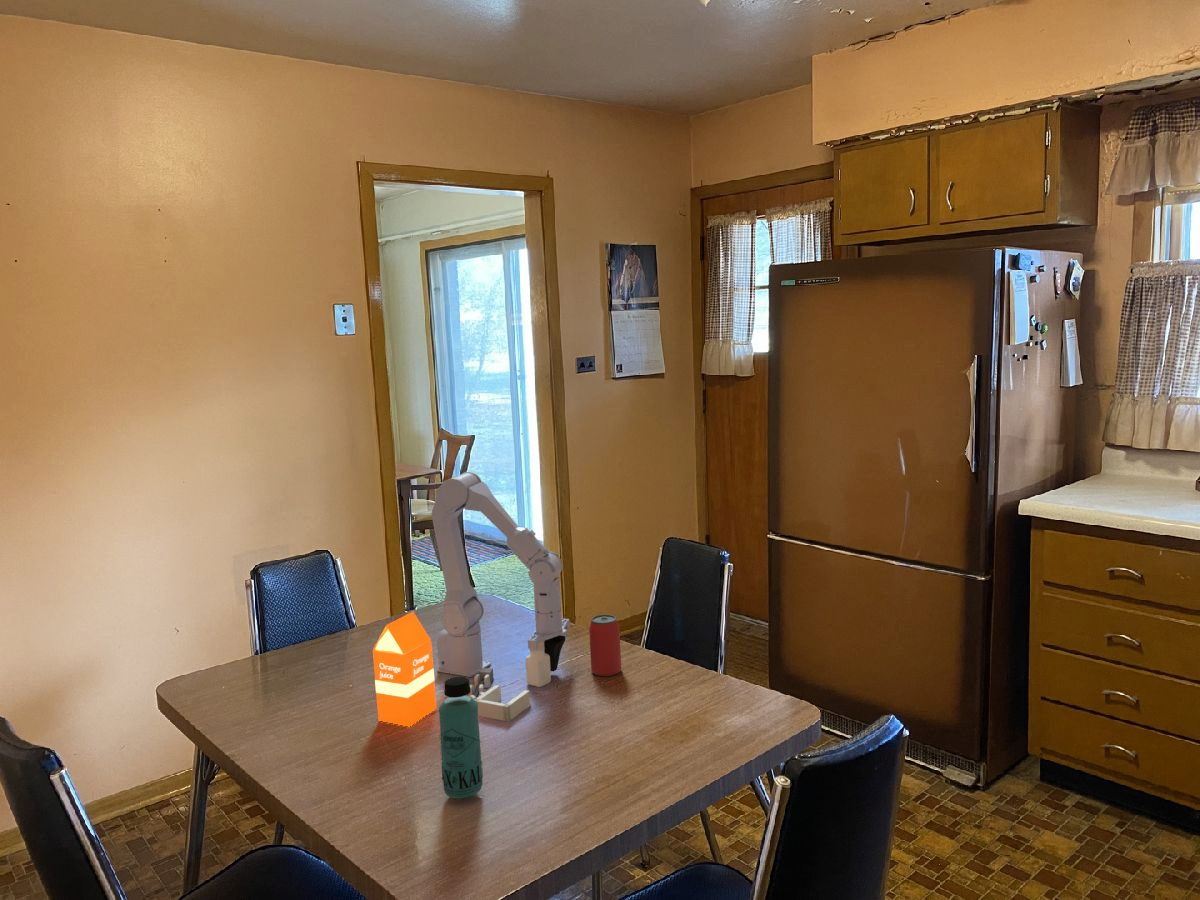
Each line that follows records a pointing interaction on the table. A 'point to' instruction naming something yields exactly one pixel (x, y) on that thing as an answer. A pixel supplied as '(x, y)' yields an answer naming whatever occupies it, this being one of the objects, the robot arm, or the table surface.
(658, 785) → the table surface
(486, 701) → the end holder
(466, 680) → the beverage bottle
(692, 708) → the table surface
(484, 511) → the robot arm
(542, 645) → the pepper shaker
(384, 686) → the orange juice
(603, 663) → the beer can
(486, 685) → the clips
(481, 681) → the cable route
